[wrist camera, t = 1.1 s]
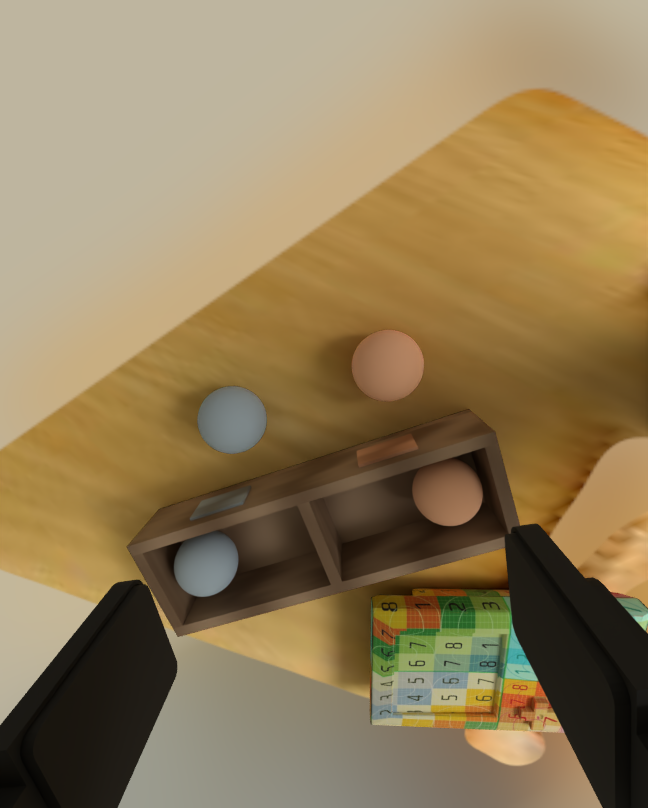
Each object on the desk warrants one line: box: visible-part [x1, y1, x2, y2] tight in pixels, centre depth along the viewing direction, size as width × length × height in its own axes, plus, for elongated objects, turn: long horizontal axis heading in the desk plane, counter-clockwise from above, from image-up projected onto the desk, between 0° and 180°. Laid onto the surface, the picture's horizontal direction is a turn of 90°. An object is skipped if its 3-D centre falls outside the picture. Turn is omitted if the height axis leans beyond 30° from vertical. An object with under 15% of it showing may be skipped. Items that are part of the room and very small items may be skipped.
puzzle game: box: [370, 589, 648, 733], centre depth 31 cm, size 12×5×20 cm
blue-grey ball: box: [174, 531, 238, 597], centre depth 28 cm, size 5×5×5 cm
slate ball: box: [197, 386, 267, 454], centre depth 26 cm, size 5×5×5 cm
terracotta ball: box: [352, 330, 424, 401], centre depth 25 cm, size 5×5×5 cm
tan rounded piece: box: [412, 458, 483, 526], centre depth 26 cm, size 5×5×5 cm
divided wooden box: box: [127, 409, 520, 637], centre depth 28 cm, size 25×8×5 cm, turn 110°
